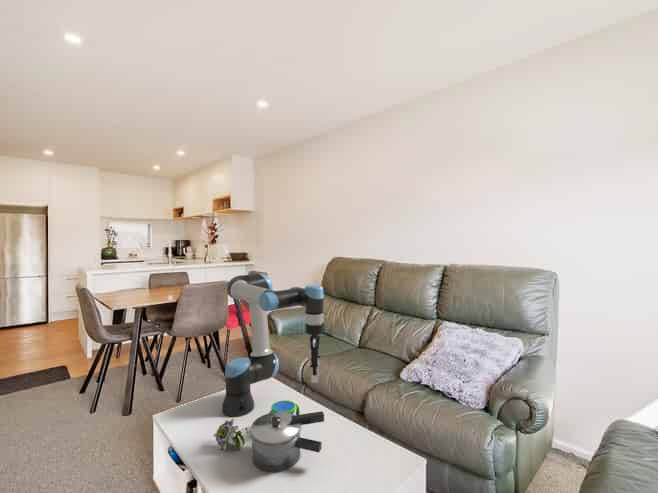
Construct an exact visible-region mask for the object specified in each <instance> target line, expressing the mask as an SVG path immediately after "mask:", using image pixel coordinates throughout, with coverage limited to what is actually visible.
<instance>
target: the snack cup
mask: <svg viewBox="0 0 658 493" xmlns="http://www.w3.org/2000/svg"><path fill="white" fill-rule="evenodd" d="M274 412H286V413H291V414H293V415H301V413H300V407H299V405H298V404H297V403H295V402H293V401H290V400H285V399H283V400H278V401H276V402H274V403H272V404H271V408H270V411H269V412H268V414H269V413H274Z"/></svg>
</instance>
